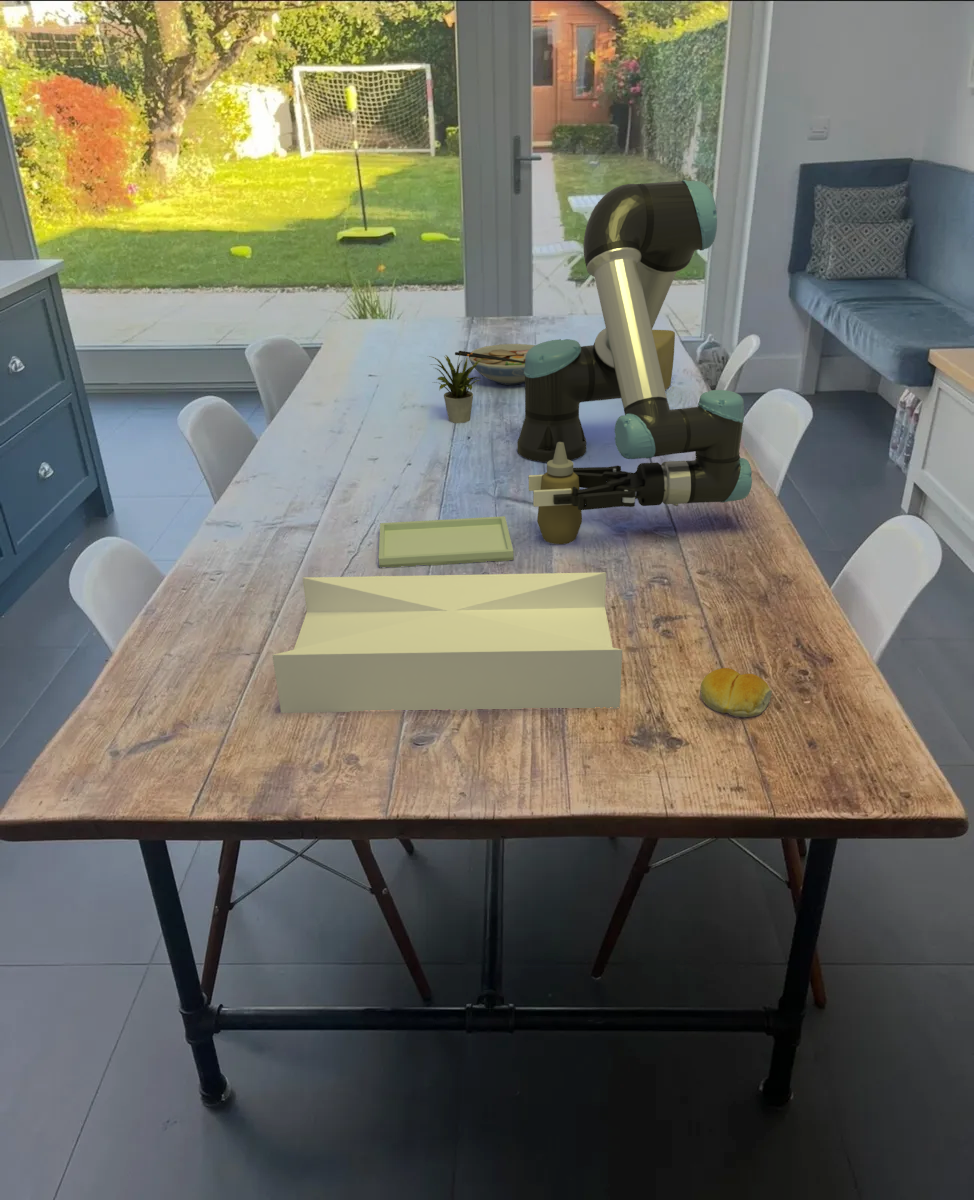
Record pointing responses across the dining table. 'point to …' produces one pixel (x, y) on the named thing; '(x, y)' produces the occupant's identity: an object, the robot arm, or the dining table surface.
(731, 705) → the bread roll
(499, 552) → the tray
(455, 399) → the house plant
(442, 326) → the dining table surface
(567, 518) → the squeeze bottle
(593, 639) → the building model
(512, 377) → the ramen bowl
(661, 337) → the cheese
